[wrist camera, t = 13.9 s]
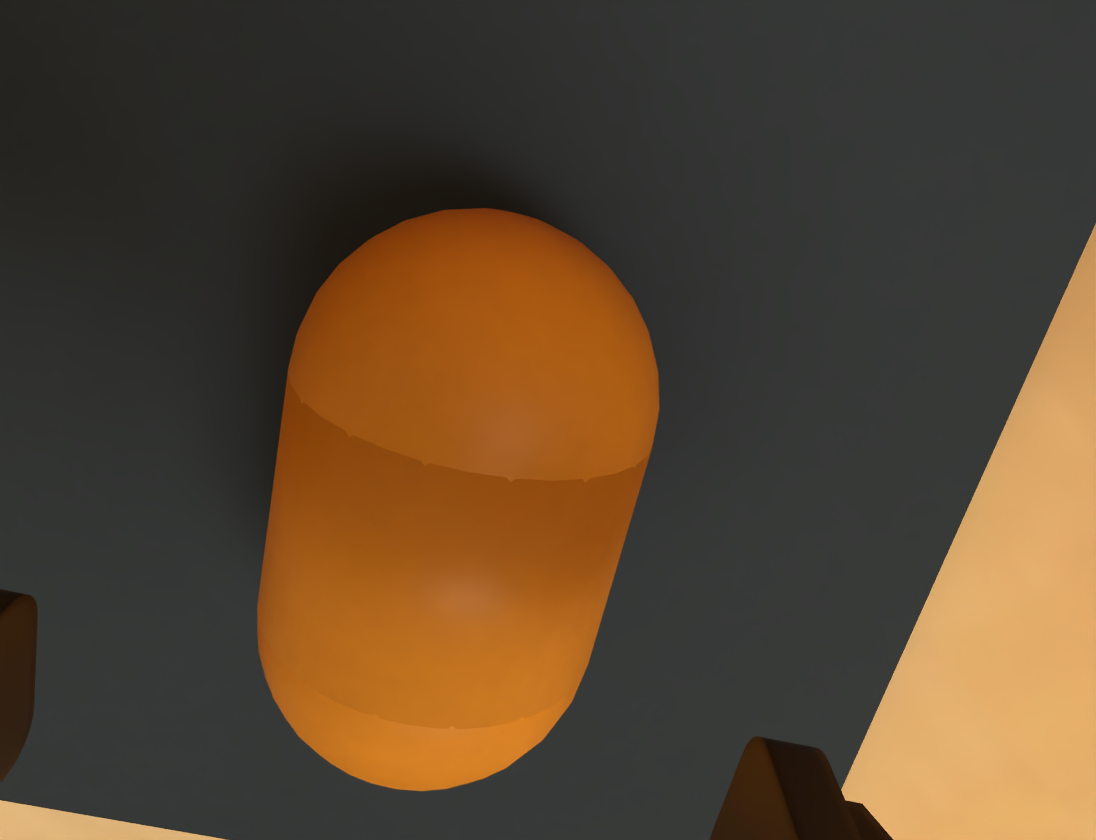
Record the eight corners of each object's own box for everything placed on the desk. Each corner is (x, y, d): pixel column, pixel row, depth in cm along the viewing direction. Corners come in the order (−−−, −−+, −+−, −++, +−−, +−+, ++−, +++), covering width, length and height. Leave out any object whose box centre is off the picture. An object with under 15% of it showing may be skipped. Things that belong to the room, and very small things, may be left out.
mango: (283, 624, 18) (192, 846, 13) (351, 152, 15) (265, 196, 10) (547, 668, 19) (561, 896, 14) (669, 226, 16) (749, 303, 10)
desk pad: (-56, 776, 20) (-67, 789, 20) (-77, -405, 13) (-96, -419, 12) (772, 920, 22) (776, 935, 22) (1203, -49, 14) (1220, -52, 14)
